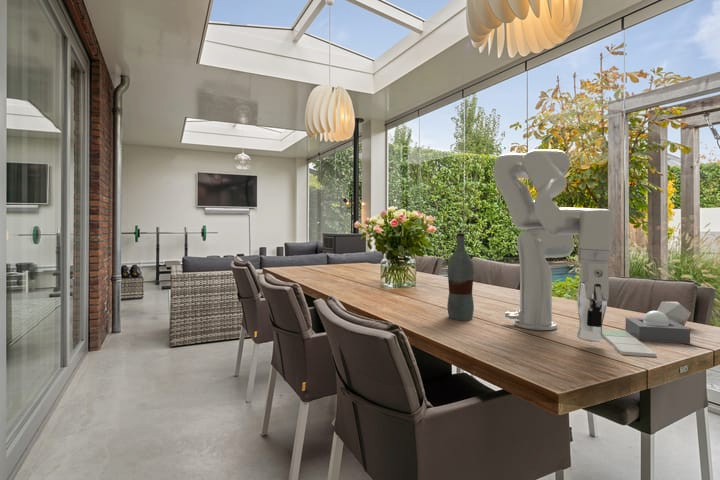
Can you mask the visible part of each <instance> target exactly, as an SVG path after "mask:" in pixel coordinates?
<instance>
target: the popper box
mask: <svg viewBox="0 0 720 480" xmlns="http://www.w3.org/2000/svg"><path fill="white" fill-rule="evenodd" d="M643 319H644V317H628V316H627V317H625V329H624V331H626V332H628V333H629V334H630V335H632V336H633V337H634V338H636V339H637V340H639V341H640V342H642V341H644V342H658V343H659V342H660V343H675V344H689V345H690V344H691V328H689V327H687V326H686V325H685V326H683V325H681V324H679V323H677V322H675V321H673V320H669V326H658V325H646V324H644V323H643Z"/></svg>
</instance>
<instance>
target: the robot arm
mask: <svg viewBox="0 0 720 480" xmlns="http://www.w3.org/2000/svg"><path fill="white" fill-rule="evenodd" d="M570 166H571V160H570V157H569V156H568V154H567V153H566V152H565V151H564V150H561V149H545V148H543V149H540V148H539V149H532V150H530V151H527V152H526V153H524V152H523V153H522V152H510V153H504V154H502V155H500V156H498V157H497V158H496V160H495V162H494V164H493V179H494V181H495V184H496V187H497V188H498V190H499V193H501V196H502V197H503V199H504V201H505V205H506V206H507V209H508V213H509V215H510V217H511V219H512V222H513V224H514V227H516V228H517V229H519V230H522V231H521V232H520V233H519V234H518V236H517V238H516V239H517V240H516V247H517V252H518V258H519V309H518V311H514V312H510V311H505V312H504V317H505V319H509V320H514V325H515V326H516V327H518V328H521V329H525V330H532V331H552V330H553V331H554V330H557V328H558V324H557V322H555V321H552V320H553V315H552V313H553V312H552V311H553V308H552V307H553V272H552V268H551V266H550V264H549V262H548V261H547V259H550V258H552V259H553V258H564V257H565V258H566V257H568V256H569V255H571V254H572V253H573V251H574V248H575V240H574V236H573V235H575V236H578V249H577V261H578V262H581V265H580V266H581V267H580V276H579V277H580V281H581V283H583V284H585V293H586V298H587V299H588V300H589V311H588V314H587V325H588V326H593V327H601V323H602V302H603V299H604V301H607V302H608V300H609V297H610V295H609V292H610V288H609V287H610V285H609V283H610V281H609V279H610V278H609V276H610V275H609V263H611V259H612V256H611V255H612V240H613V225H614V213H613V212H612V210H610V209H607V208H588V207H559V206H558V205H557V204H556V203H555V202H554V201H553V199H554V198H556V197H557V196H559V195H560V194H561V193H562V192H564V190H565V189H566V188H567V183H568V181H567V178H566V176H565V175H566V174H567V172H568V171H569V170H570ZM520 179H529V180H530V182H531V183H532V185H533V187H534V188H535V190H536V192H537V193H536V196H535V199H534V198H533V196H532V193H531V191H530V189H529V187H527V186H526V184H525V183H523V182H522V181H521V180H520ZM580 281H579V282H580ZM593 293H595V299H591V295H592V294H593ZM602 296H603V299H602ZM592 301H593V302H594V303H593V305H592ZM602 324H603V323H602Z"/></svg>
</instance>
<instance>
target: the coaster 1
mask: <svg viewBox="0 0 720 480" xmlns="http://www.w3.org/2000/svg"><path fill="white" fill-rule="evenodd" d="M602 334H603V338H604V336H619V337H634V336H633V335H631V334H630V333H629V332H627V331H626V330H622V329H620V330H619V329H617V330H615V329H607V328H606V329H604V328H602Z"/></svg>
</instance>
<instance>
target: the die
mask: <svg viewBox="0 0 720 480" xmlns="http://www.w3.org/2000/svg"><path fill="white" fill-rule="evenodd" d="M656 311H660V312H662V313H664V314H665V315H666V316H667V317H668V320H673V321H675V322H677V323H679V324H681V325H683V326H685V327H686V324H687V322H688V320H689V318H690V316H691V315H692V312H690V310H688V309H687V308H686V307H684V306H683V305H682V304H681V303H680V302H678V301H661V302H660V304H659V306H658V308H657V310H656Z"/></svg>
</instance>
